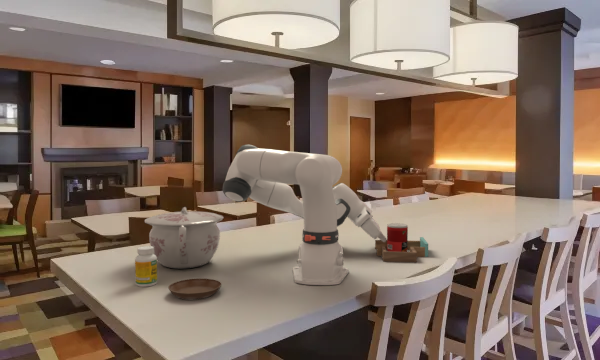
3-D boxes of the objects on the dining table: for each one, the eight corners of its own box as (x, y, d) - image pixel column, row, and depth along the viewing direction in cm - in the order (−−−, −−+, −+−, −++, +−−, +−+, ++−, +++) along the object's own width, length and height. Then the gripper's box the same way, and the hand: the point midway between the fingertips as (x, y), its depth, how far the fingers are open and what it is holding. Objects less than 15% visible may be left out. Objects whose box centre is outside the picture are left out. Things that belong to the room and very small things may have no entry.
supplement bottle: (139, 281, 139) (138, 245, 138) (159, 280, 139) (158, 245, 139) (132, 287, 133) (131, 250, 132) (154, 287, 133) (153, 249, 132)
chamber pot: (183, 252, 178) (182, 201, 177) (239, 259, 166) (238, 204, 164) (126, 269, 153) (124, 209, 152) (187, 279, 141) (186, 214, 139)
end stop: (428, 256, 169) (428, 243, 168) (424, 256, 169) (425, 243, 168) (422, 249, 181) (422, 237, 181) (419, 249, 181) (419, 237, 181)
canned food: (406, 255, 171) (406, 226, 171) (385, 253, 174) (385, 225, 174) (408, 250, 179) (408, 223, 178) (388, 249, 181) (388, 222, 181)
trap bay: (416, 262, 160) (416, 252, 160) (383, 261, 162) (383, 252, 162) (413, 256, 169) (413, 247, 169) (381, 255, 171) (381, 246, 170)
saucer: (201, 283, 137) (200, 274, 137) (232, 293, 128) (232, 283, 128) (158, 295, 126) (157, 285, 126) (188, 306, 117) (188, 296, 116)
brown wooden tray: (424, 256, 169) (425, 247, 168) (376, 255, 171) (376, 246, 171) (419, 249, 181) (419, 240, 181) (375, 248, 184) (375, 239, 183)
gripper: (355, 216, 189) (378, 240, 188) (355, 225, 169) (380, 251, 168) (366, 206, 188) (389, 230, 187) (367, 213, 168) (393, 240, 167)
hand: (385, 240), depth 178 cm, fingers closed
